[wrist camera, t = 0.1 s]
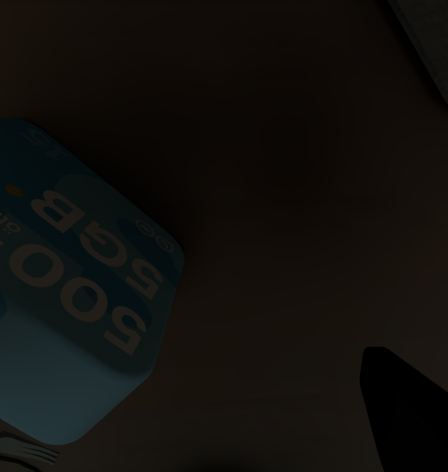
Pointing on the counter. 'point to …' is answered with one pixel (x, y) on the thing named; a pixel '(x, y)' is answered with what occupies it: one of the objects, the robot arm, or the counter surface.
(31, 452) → the cutlery set
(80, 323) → the data package
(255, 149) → the counter surface
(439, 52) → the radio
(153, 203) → the counter surface
